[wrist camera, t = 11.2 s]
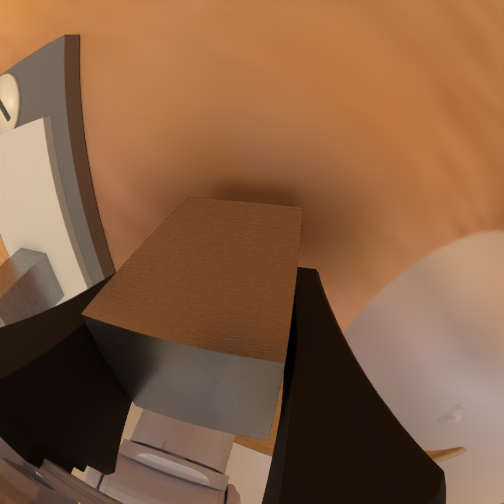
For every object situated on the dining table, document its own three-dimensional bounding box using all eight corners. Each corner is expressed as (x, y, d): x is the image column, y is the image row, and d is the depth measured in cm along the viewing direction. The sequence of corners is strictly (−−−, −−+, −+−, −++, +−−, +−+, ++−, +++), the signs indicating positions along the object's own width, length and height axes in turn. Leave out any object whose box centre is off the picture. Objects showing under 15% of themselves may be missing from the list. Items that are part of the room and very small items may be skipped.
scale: (133, 323, 21) (123, 338, 19) (34, 290, 23) (25, 300, 21) (79, 34, 9) (56, 34, 8) (-18, 95, 11) (-33, 101, 10)
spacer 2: (291, 298, 11) (268, 440, 6) (197, 285, 12) (135, 405, 7) (303, 207, 9) (284, 362, 4) (188, 197, 10) (80, 314, 5)
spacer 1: (64, 295, 18) (21, 348, 13) (37, 286, 19) (-2, 331, 14) (46, 253, 16) (-7, 305, 11) (20, 247, 17) (-26, 292, 12)
